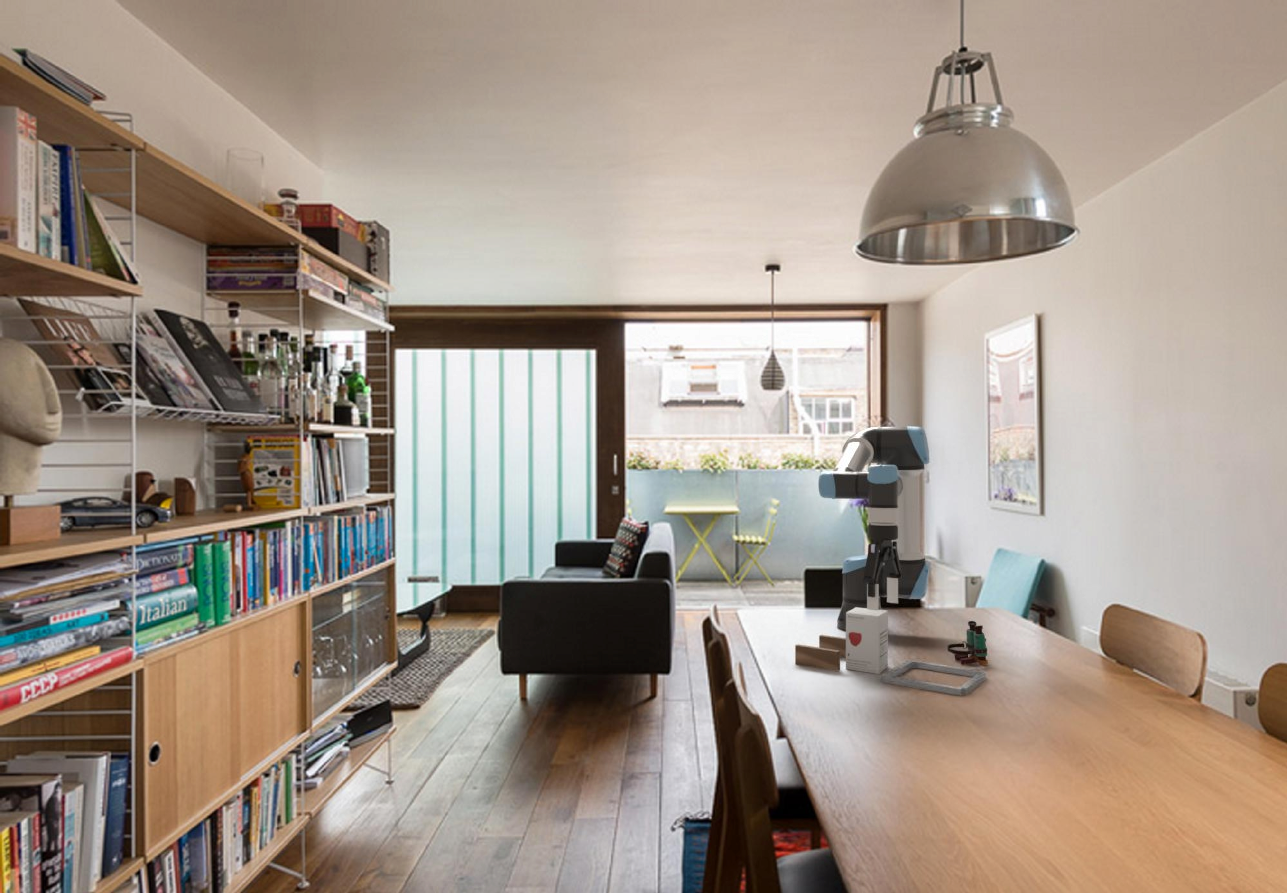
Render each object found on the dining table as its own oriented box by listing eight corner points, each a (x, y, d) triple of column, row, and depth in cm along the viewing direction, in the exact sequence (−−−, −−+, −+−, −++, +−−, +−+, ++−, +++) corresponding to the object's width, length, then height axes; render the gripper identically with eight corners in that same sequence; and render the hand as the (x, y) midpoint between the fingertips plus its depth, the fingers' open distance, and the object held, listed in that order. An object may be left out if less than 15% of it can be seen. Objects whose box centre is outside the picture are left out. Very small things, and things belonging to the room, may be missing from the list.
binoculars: (941, 622, 228) (977, 619, 228) (945, 661, 228) (981, 657, 228) (952, 629, 219) (990, 625, 219) (957, 669, 219) (995, 665, 219)
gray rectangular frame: (908, 665, 220) (908, 659, 220) (988, 677, 208) (988, 671, 208) (879, 682, 204) (879, 675, 204) (964, 696, 192) (964, 690, 192)
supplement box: (844, 669, 216) (844, 612, 216) (854, 662, 223) (854, 606, 223) (879, 674, 211) (879, 615, 211) (888, 666, 218) (888, 610, 219)
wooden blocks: (821, 652, 234) (821, 634, 234) (862, 658, 227) (862, 640, 227) (795, 664, 221) (795, 645, 221) (837, 671, 214) (837, 651, 214)
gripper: (886, 520, 227) (886, 598, 227) (849, 526, 207) (849, 611, 207) (913, 522, 223) (913, 601, 222) (878, 527, 203) (878, 614, 202)
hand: (882, 606), depth 215 cm, fingers open, 13 cm apart
